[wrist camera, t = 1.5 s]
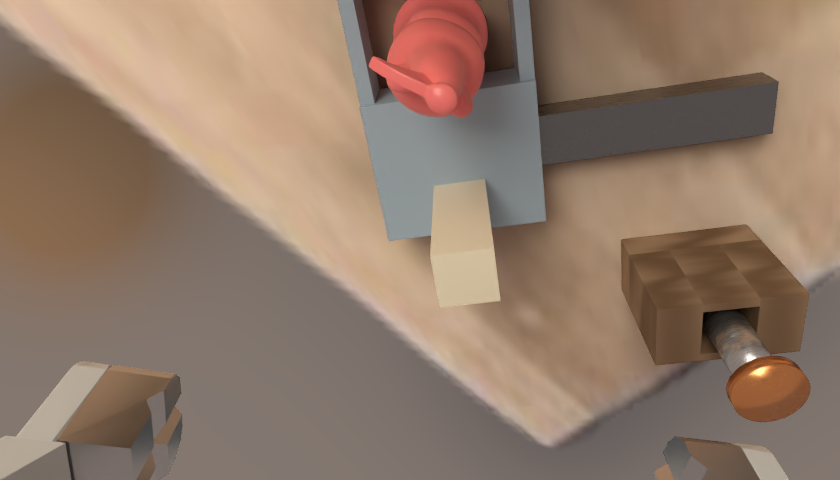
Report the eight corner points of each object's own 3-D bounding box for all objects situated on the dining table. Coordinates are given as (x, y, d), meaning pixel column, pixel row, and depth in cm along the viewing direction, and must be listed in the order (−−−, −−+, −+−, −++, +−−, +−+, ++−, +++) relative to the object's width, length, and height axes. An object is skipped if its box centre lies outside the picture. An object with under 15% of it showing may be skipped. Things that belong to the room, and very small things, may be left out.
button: (752, 284, 35) (815, 363, 29) (747, 334, 36) (805, 418, 31) (687, 291, 35) (735, 370, 29) (684, 340, 37) (729, 424, 31)
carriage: (517, -77, 32) (548, -65, 22) (539, 197, 39) (569, 297, 30) (338, -44, 33) (291, -19, 23) (393, 216, 40) (375, 319, 31)
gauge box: (746, 224, 40) (809, 293, 33) (741, 275, 42) (799, 351, 35) (621, 239, 41) (656, 310, 34) (621, 288, 43) (655, 365, 36)
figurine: (381, 50, 35) (341, 139, 22) (413, -40, 33) (390, 1, 20) (462, 84, 36) (469, 189, 23) (499, -2, 34) (531, 62, 21)
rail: (762, 72, 35) (778, 81, 33) (757, 122, 37) (772, 133, 35) (388, 127, 38) (385, 138, 36) (396, 172, 39) (394, 185, 37)
